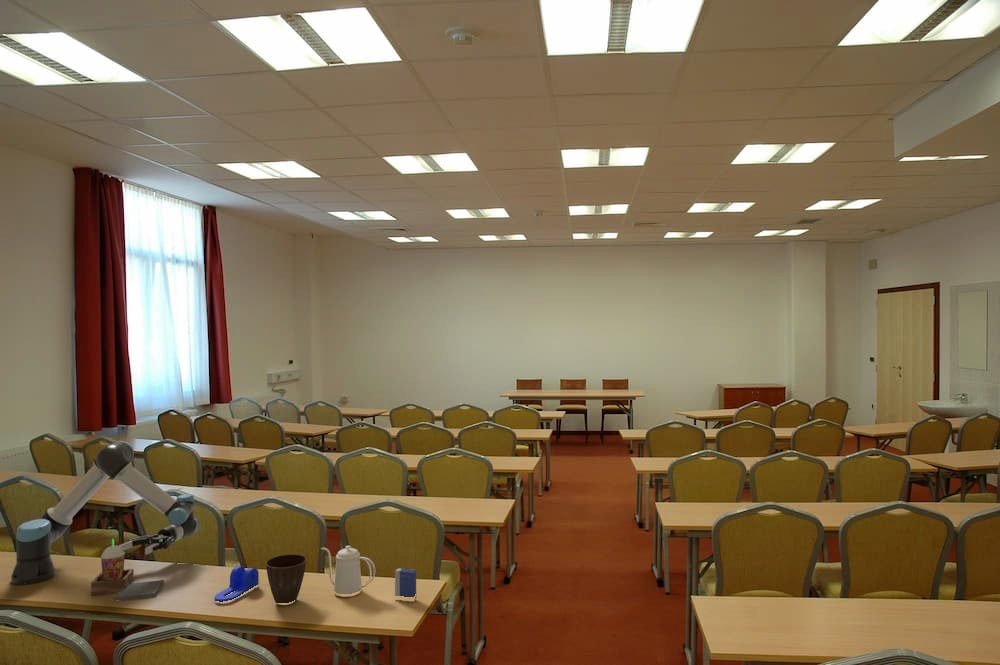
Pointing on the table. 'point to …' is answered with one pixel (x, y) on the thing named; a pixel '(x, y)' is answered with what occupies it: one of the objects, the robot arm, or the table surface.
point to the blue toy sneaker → (239, 583)
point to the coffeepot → (348, 571)
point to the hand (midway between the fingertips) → (132, 550)
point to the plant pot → (286, 576)
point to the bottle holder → (111, 583)
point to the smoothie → (112, 562)
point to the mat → (140, 590)
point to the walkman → (405, 582)
